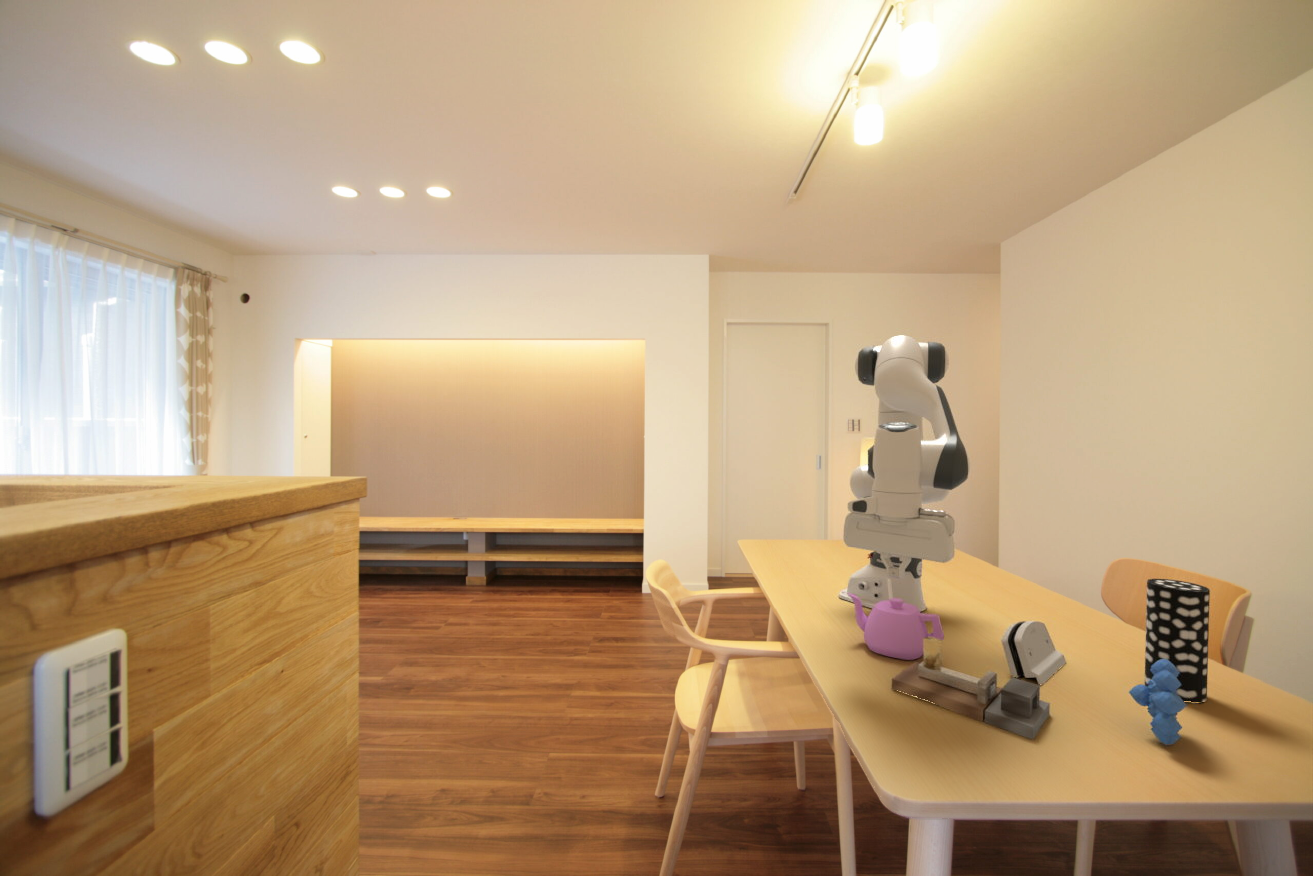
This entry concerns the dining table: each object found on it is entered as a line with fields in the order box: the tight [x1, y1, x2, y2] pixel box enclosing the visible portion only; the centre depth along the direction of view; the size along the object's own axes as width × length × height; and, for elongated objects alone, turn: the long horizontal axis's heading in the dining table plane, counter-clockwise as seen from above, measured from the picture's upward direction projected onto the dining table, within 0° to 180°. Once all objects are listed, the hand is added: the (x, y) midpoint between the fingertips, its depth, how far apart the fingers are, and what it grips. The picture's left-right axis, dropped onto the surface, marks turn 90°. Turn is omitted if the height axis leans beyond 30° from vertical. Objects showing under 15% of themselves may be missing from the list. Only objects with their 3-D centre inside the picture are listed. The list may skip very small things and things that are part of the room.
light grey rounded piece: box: [1001, 620, 1067, 686], centre depth 111 cm, size 17×5×10 cm, turn 129°
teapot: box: [847, 593, 945, 661], centre depth 119 cm, size 13×20×11 cm, turn 55°
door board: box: [891, 661, 1051, 741], centre depth 96 cm, size 22×11×5 cm, turn 43°
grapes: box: [1128, 659, 1187, 746], centre depth 86 cm, size 12×7×12 cm, turn 140°
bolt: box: [918, 637, 995, 699], centre depth 98 cm, size 12×3×7 cm, turn 43°
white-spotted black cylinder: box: [1144, 578, 1211, 702], centre depth 100 cm, size 8×8×20 cm
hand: (895, 577), depth 105 cm, fingers closed
